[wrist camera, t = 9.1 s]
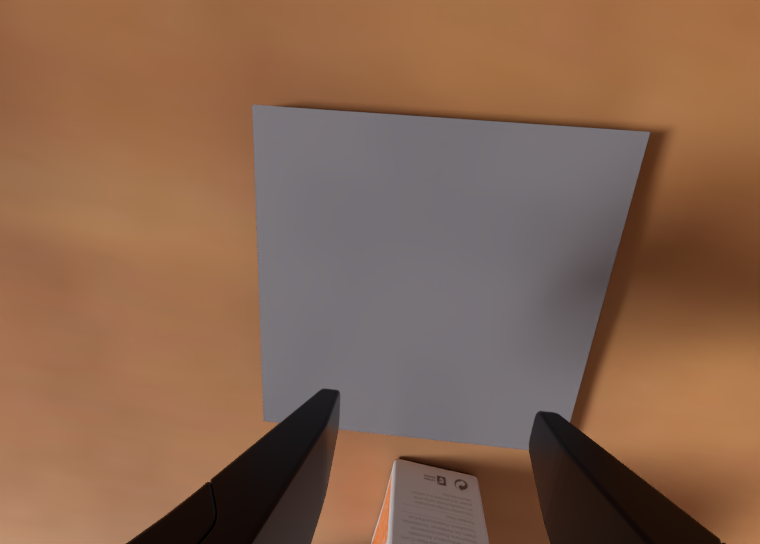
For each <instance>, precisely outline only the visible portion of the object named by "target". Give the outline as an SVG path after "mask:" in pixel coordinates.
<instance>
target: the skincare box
mask: <svg viewBox="0 0 760 544" xmlns="http://www.w3.org/2000/svg"><path fill="white" fill-rule="evenodd" d="M371 544H489V539H488V533H487V527H486V522H485V517H484V512H483V506H482V501H481V495H480V490H479V484H478V479H477V478H476V477H475V476H472V475H468V474H463V473H459V472H455V471H450V470H445V469H441V468H437V467H432V466H427V465H423V464H419V463H415V462H410V461H406V460H402V459H396V460H395V461H394V463H393V468H392V472H391V476H390V480H389V484H388V488H387V492H386V496H385V499H384V503H383V507H382V510H381V513H380V516H379V519H378V522H377V526H376V529H375V532H374V535H373V538H372V543H371Z"/></svg>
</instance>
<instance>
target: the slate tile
mask: <svg viewBox="0 0 760 544" xmlns="http://www.w3.org/2000/svg"><path fill="white" fill-rule="evenodd" d="M252 111H253V138H254V166H255V193H256V221H257V248H258V276H259V303H260V331H261V358H262V386H263V413H264V421H268V422H277V423H280V422H282V421H283V420H284V419H285V418H286V417H288V416H289V415H290V414H291V413H293V412H294V411H295V410H296V409H297V408H299V407H300V406H301V405H302V404H304V403H305V402H306V401H307V400H308V399H310V398H311V397H312V396H313V395H315V394H316V393H317V392H318V391H319V390H321V389H323V388H326V389H335V390H339V391H340V417H339V428H338V429H341V430H350V431H359V432H368V433H377V434H386V435H395V436H404V437H414V438H423V439H432V440H441V441H450V442H459V443H468V444H477V445H486V446H495V447H504V448H514V449H523V450H529V439H530V435H531V431H532V427H533V422H534V418H535V415H536V413H537V412H539V411H547V412H555V413H558V414H559V415H561V416H562V417H563V418H565V419H566V420H567V421H568V422H570V420H571V417H572V413H573V409H574V406H575V402H576V399H577V395H578V391H579V388H580V384H581V380H582V377H583V373H584V370H585V366H586V362H587V359H588V355H589V352H590V348H591V344H592V341H593V337H594V334H595V330H596V326H597V323H598V319H599V315H600V312H601V308H602V305H603V301H604V297H605V294H606V290H607V287H608V283H609V279H610V276H611V272H612V269H613V265H614V261H615V258H616V254H617V250H618V247H619V243H620V240H621V236H622V232H623V229H624V225H625V222H626V218H627V214H628V211H629V207H630V203H631V200H632V196H633V193H634V189H635V185H636V182H637V178H638V175H639V171H640V167H641V164H642V160H643V157H644V153H645V149H646V146H647V142H648V138H649V135H650V132H643V131H629V130H614V129H599V128H585V127H570V126H556V125H541V124H526V123H512V122H497V121H483V120H468V119H453V118H439V117H424V116H409V115H395V114H380V113H366V112H351V111H336V110H322V109H307V108H293V107H278V106H263V105H252Z"/></svg>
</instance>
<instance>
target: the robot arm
mask: <svg viewBox="0 0 760 544" xmlns="http://www.w3.org/2000/svg"><path fill="white" fill-rule="evenodd" d="M339 417H340V391H339V390H335V389H326V388H323V389H321V390H319V391H318V392H317V393H316V394H315V395H313V396H312V397H311V398H310V399H308V400H307V401H306V402H305V403H304V404H302V405H301V406H300V407H299V408H297V409H296V410H295V411H294V412H293V413H291V414H290V415H289V416H288V417H286V418H285V419H284V420H283V421H282V422H280V423H279V424H278V425H277V426H275V427H274V428H273V429H272V430H271V431H269V432H268V433H267V434H266V435H264V436H263V437H262V438H261V439H260V440H258V441H257V442H256V443H255V444H254V445H252V446H251V447H250V448H249V449H247V450H246V451H245V452H244V453H243V454H241V455H240V456H239V457H238V458H236V459H235V460H234V461H233V462H232V463H230V464H229V465H228V466H227V467H225V468H224V469H223V470H222V471H221V472H219V473H218V474H217V475H216V476H214V477H213V478H212V479H211V483H210V482H207V483H206V484H204V485H203V486H202V487H201V488H200V489H198V490H197V491H196V492H195V493H193V494H192V495H191V496H190V497H188V498H187V499H186V500H185V501H183V502H182V503H181V504H180V505H178V506H177V507H176V508H174V509H173V510H172V511H171V512H169V513H168V514H167V515H165V516H164V517H163V518H161V519H160V520H158V521H157V522H156V523H154V524H153V525H152V526H150V527H149V528H147V529H146V530H145V531H143V532H142V533H140V534H139V535H138V536H136V537H135V538H133V539H132V540H131V541H129V542H128V543H126V544H311V542H312V539H313V535H314V532H315V529H316V526H317V523H318V519H319V516H320V513H321V510H322V506H323V503H324V499H325V496H326V491H327V487H328V482H329V476H330V471H331V466H332V461H333V455H334V450H335V445H336V439H337V434H338V428H339ZM529 453H530V458H531V463H532V468H533V472H534V477H535V482H536V487H537V492H538V497H539V501H540V506H541V511H542V515H543V520H544V524H545V527H546V530H547V534H548V537H549V540H550V543H551V544H726V543H721V541H720V539H719V538H718V537H717V536H715V535H714V534H713V533H711V532H710V531H709V530H708V529H706V528H705V527H704V526H702V525H701V524H700V523H698V522H697V521H696V520H695V519H693V518H692V517H691V516H689V515H688V514H687V513H686V512H684V511H683V510H682V509H680V508H679V507H678V506H677V505H675V504H674V503H673V502H671V501H670V500H669V499H668V498H666V497H665V496H664V495H662V494H661V493H660V492H659V491H657V490H656V489H655V488H653V487H652V486H651V485H650V484H648V483H647V482H646V481H644V480H643V479H642V478H641V477H639V476H638V475H637V474H635V473H634V472H633V471H632V470H630V469H629V468H628V467H626V466H625V465H624V464H623V463H621V462H620V461H619V460H617V459H616V458H615V457H614V456H612V455H611V454H610V453H608V452H607V451H606V450H604V449H603V448H602V447H601V446H599V445H598V444H597V443H595V442H594V441H593V440H592V439H590V438H589V437H588V436H586V435H585V434H584V433H583V432H581V431H580V430H579V429H577V428H576V427H575V426H574V425H572V424H571V423H570V422H568V421H567V420H566V419H565V418H563V417H562V416H561V415H559V414H558V413H555V412H547V411H539V412H537V413H536V415H535V418H534V422H533V427H532V431H531V435H530V439H529Z"/></svg>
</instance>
